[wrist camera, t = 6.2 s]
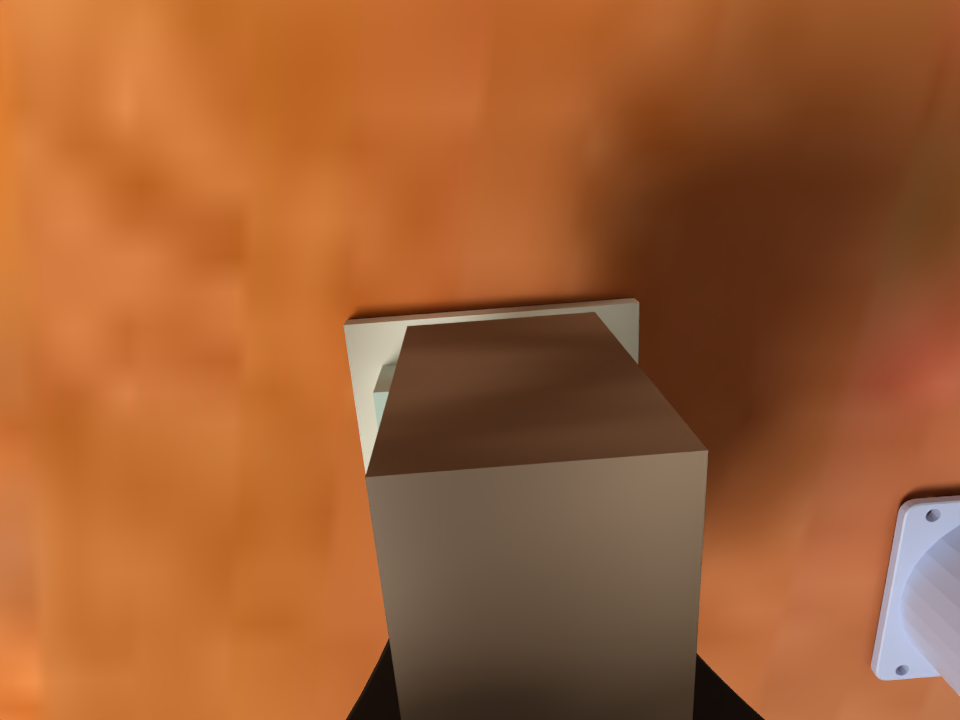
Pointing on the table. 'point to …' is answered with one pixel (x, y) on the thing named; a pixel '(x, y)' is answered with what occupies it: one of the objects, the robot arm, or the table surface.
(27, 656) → the table surface
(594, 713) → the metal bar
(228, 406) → the table surface
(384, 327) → the rail stand
